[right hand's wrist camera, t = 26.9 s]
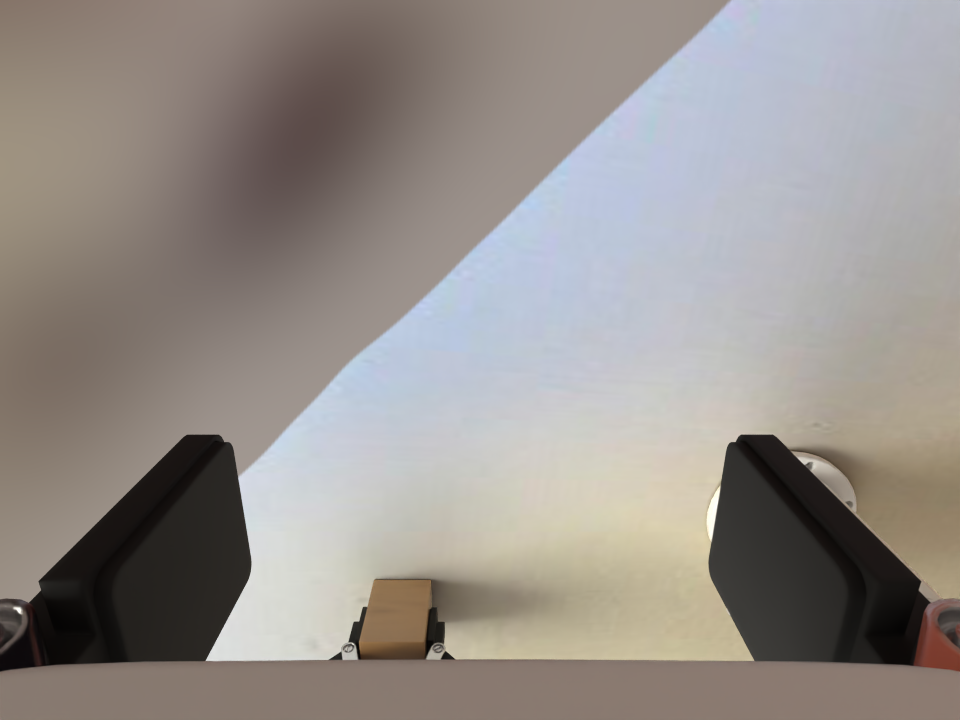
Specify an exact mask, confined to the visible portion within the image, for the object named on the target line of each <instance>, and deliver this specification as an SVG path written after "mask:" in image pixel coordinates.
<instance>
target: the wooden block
mask: <svg viewBox="0 0 960 720" xmlns="http://www.w3.org/2000/svg"><path fill="white" fill-rule="evenodd" d="M431 607H432V590H431V580H374V583H373V587H372V591H371V595H370V599H369V603H368V607H367V612H366V616H365V620H364V624H363V628H362V632H361V636H360V640H359V645H360V657H361V660H425V658H426V656H427V650H426V637H427V627H428V618H429V609H431Z"/></svg>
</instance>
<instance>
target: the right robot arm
mask: <svg viewBox="0 0 960 720" xmlns="http://www.w3.org/2000/svg"><path fill="white" fill-rule="evenodd" d="M856 511H857V509H856V497H855V493H854V490H853V487H852V486H851V484H850V482H849V480H848V479H847V478H846V477H845V476H844V474H843V473H842V472H841V471H840V470H839V469H837V468H836V467H835V466H834V465H833V464H831V463H830V462H829V461H827V460H825V459H823V458H821V457H819V456H816V455H812V454H809V453H805V452H794V451H790V450H789V449H788V448H787V447H786V446H785V445H784V444H783V443H782V442H781V441H780V440H779V439H778V438H777V437H775V436H774V435H740V436H739V437H738V439H737V440H736V442H731V443H729V445H728V447H727V450H726V456H725V462H724V468H723V475H722V481H721V485H720V487H719V488H718V489H717V491H716V493H715V494H714V496H713V498H712V500H711V503H710V506H709V509H708V512H707V522H706V523H707V531H708V536H709V538H710V541H711V549H710V555H709V572H710V576H711V579H712V581H713V583H714V585H715V587H716V589H717V591H718V593H719V595H720V596H721V598H722V600H723V602H724V604H725V606H726V608H727V612H728V614H729V615H730V616H731V617H732V619H733V621H734V623H735V625H736V627H737V629H738V630H739V632H740V634H741V636H742V638H743V640H744V642H745V644H746V645H747V647H748V649H749V651H750V653H751V655H752V657H753V659H754V661H675V660H286V661H206V659H207V657H208V655H209V653H210V651H211V649H212V647H213V645H214V644H215V642H216V640H217V638H218V636H219V634H220V632H221V630H222V629H223V627H224V625H225V623H226V621H227V619H228V617H229V615H230V613H231V612H232V610H233V608H234V606H235V604H236V602H237V600H238V598H239V596H240V595H241V593H242V591H243V589H244V587H245V585H246V583H247V581H248V579H249V576H250V572H251V555H250V549H249V542H248V536H247V530H246V524H245V518H244V512H243V505H242V499H241V493H240V487H239V481H238V475H237V469H236V462H235V456H234V450H233V447H232V445H231V443H229V442H224V440H223V439H222V437H221V436H220V435H186V436H185V437H183V438H182V439H181V440H180V441H179V442H178V443H177V444H176V445H175V446H174V447H173V448H172V449H171V450H170V451H169V452H168V453H167V454H166V455H165V456H164V457H163V458H162V459H161V460H160V461H159V462H158V463H157V464H156V465H155V466H154V467H153V468H152V469H151V470H150V471H149V472H148V473H147V474H146V475H145V476H144V477H143V478H142V479H141V480H140V481H139V482H138V483H137V484H136V485H135V486H134V487H133V488H132V489H131V490H130V491H129V492H128V493H127V494H126V495H125V496H124V497H123V498H122V499H121V500H120V501H119V502H118V503H117V504H116V505H115V506H114V507H113V508H112V509H111V510H110V511H109V512H108V513H107V514H106V515H105V516H104V517H103V518H102V519H101V520H100V521H99V522H98V523H97V524H96V525H95V526H94V527H93V528H92V529H91V530H90V531H89V532H88V533H87V534H86V535H85V536H84V537H83V538H82V539H81V540H80V541H79V542H78V543H77V544H76V545H75V546H74V547H73V548H72V549H71V550H70V551H69V552H68V553H67V554H66V555H65V556H64V557H62V558H61V560H59V561H58V562H57V563H56V564H55V565H54V566H53V567H52V568H51V569H50V570H49V571H48V572H47V573H46V575H44V576H43V577H42V578H41V579H40V580H39V585H40V588H41V591H40V592H39V593H38V594H37V595H36V596H35V597H34V598H33V599H32V600H31V601H30V602H29V603H28V602H25V601H23V600H20V599H0V720H960V599H943V598H942V597H941V596H940V595H939V594H938V593H937V592H936V591H935V590H934V589H933V588H932V587H931V586H930V585H928V584H927V583H926V582H925V581H924V580H923V579H922V578H921V577H920V576H919V575H918V574H917V573H916V572H915V571H914V570H913V569H912V568H911V567H910V566H909V565H908V564H907V563H906V562H905V561H904V560H903V559H902V558H901V557H900V556H899V555H898V554H897V553H896V552H895V551H894V550H893V549H892V548H891V547H890V546H889V545H888V544H887V543H886V542H885V541H884V540H883V539H882V538H881V537H880V536H879V535H878V534H877V533H876V532H875V531H874V530H873V529H872V528H871V527H870V526H869V525H868V524H867V523H866V522H865V521H864V520H863V519H862V518H860V517H859V516H858V515H857V514H856Z"/></svg>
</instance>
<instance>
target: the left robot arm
mask: <svg viewBox="0 0 960 720" xmlns="http://www.w3.org/2000/svg"><path fill="white" fill-rule="evenodd" d="M366 612H367V607H363V609H362V613H361V617H360V621H359V622H354V623H353V627H352V631H351V634H350V638H349V642H348V643H346V644H344V645H343V646H342V648H341V652H340V653H338V654H337V655H335V656H334V657H332V658H331V659H329V660H361V657H360V645H359V640H360V636H361V632H362V628H363V624H364V620H365V616H366ZM444 638H445V622H438V618H437V607H431V609H429V618H428V627H427V637H426V650H427V656H426V658H425V660H455V659H454V658H453V657H452V656H451V655H450V654H449V653H447V652H446V651H445V646H444Z"/></svg>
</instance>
